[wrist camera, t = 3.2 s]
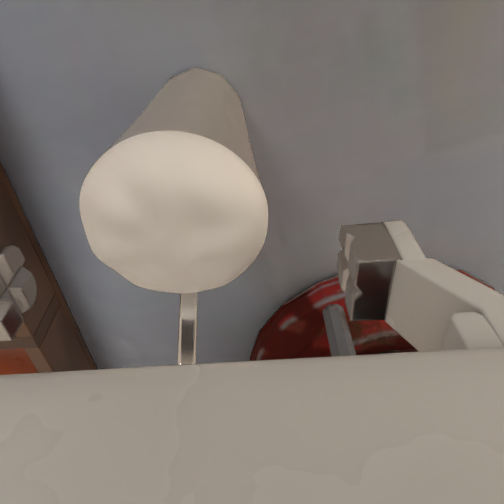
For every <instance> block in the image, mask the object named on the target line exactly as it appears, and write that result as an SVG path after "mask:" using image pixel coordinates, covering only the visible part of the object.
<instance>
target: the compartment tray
mask: <svg viewBox="0 0 504 504" xmlns="http://www.w3.org/2000/svg"><path fill="white" fill-rule="evenodd" d="M9 245H14V246H16V247H18V248H20V250H21V252H22V254H23V256H24V257H25V261H24V263H23V267H25V268H26V269H28V270H29V271H31V272H32V274H33V276H34V278H35V280H36V286H37V293H36V300H35V302H34V303H33V305H32V307H31V308H30V309H29V310H27V311H26V312H24V313H23V314H21V315H22V317H23V320H24V321H23V323H22V325H21V326H20V328H19V330H18V331H17V333H16V335H15V337H14V338H13V340H11V341H0V375H9V374H27V373H45V372H63V371H81V370H97V368H96V366H95V364H94V362H93V360H92V357H91V355H90V353H89V351H88V349H87V347H86V345H85V342H84V340H83V338H82V336H81V334H80V332H79V330H78V327H77V325H76V323H75V321H74V319H73V317H72V315H71V312H70V310H69V308H68V306H67V304H66V302H65V300H64V297H63V295H62V293H61V291H60V289H59V287H58V285H57V282H56V280H55V278H54V276H53V274H52V272H51V270H50V267H49V265H48V263H47V261H46V259H45V257H44V255H43V252H42V250H41V248H40V246H39V244H38V242H37V240H36V237H35V235H34V233H33V231H32V229H31V227H30V225H29V222H28V220H27V218H26V216H25V214H24V212H23V210H22V207H21V205H20V203H19V201H18V199H17V197H16V195H15V192H14V190H13V188H12V186H11V184H10V182H9V180H8V177H7V175H6V173H5V171H4V169H3V167H2V165H1V162H0V246H9Z"/></svg>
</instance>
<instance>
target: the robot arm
mask: <svg viewBox="0 0 504 504" xmlns="http://www.w3.org/2000/svg"><path fill="white" fill-rule="evenodd" d="M339 241H340V244H341V247H342V250H341V251H340V252H339V253H338V262H337V268H338V279H339V284H340V288H341V290H342V291H344V292H345V305H346V308H347V312H348V315H349V318H350V321H370V320H385V322H386V323H388V324H389V325H390V326H391V327H392V328H393V329H394V330H395V331H396V332H398V333H399V334H400V335H401V336H402V337H403V338H404V339H405V340H407V341H408V342H409V343H410V344H411V345H412V346H413V347H414V348H415V349H417V350H418V351H419V352H403V353H385V354H367V355H351V356H333V357H315V358H296V359H278V360H260V361H242V362H223V363H205V364H187V365H169V366H152V367H134V368H117V369H99V370H81V371H63V372H45V373H27V374H9V375H0V504H504V295H502V294H501V293H499V292H497V291H495V290H493V289H491V288H489V287H487V286H485V285H483V284H481V283H479V282H478V281H476V280H474V279H472V278H470V277H468V276H466V275H464V274H462V273H460V272H458V271H456V270H455V269H453V268H451V267H449V266H447V265H445V264H443V263H441V262H439V261H437V260H435V259H434V258H426V256H425V255H424V253H423V251H422V250H421V248H420V246H419V245H418V243H417V241H416V240H415V238H414V236H413V235H412V233H411V231H410V230H409V228H408V226H407V225H406V223H405V222H404V221H402V220H398V221H388V222H380V223H368V224H356V225H344V226H341V228H340V234H339ZM24 261H25V257H24V256H23V254H22V252H21V250H20V248H18V247H16V246H14V245H9V246H0V341H11V340H13V338H14V337H15V335H16V333H17V331H18V330H19V328H20V326H21V325H22V323H23V321H24V320H23V317H22V315H21V314H23V313H24V312H26V311H27V310H29V309H30V308H31V307H32V305H33V303H34V302H35V300H36V293H37V286H36V280H35V278H34V276H33V274H32V272H31V271H29V270H28V269H26V268H25V267H23V263H24Z"/></svg>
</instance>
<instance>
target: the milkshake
mask: <svg viewBox="0 0 504 504" xmlns="http://www.w3.org/2000/svg"><path fill="white" fill-rule="evenodd" d="M79 208H80V215H81V219H82V223H83V227H84V230H85V233H86V237H87V240H88V242H89V245H90V247H91V249H92V251H93V253H94V254H95V255H96V257H97V258H98V259H99V260H100V261H102V262H103V263H104V264H106V265H107V266H109V267H110V268H112V269H114V270H115V271H116V272H118V273H119V274H120V275H122V276H123V277H124V278H126V279H127V280H128V281H130V282H131V283H133V284H135V285H137V286H139V287H142V288H145V289H150V290H155V291H162V292H171V293H181V294H180V316H179V338H178V365H187V364H195V361H196V332H197V294H198V292H200V291H205V290H210V289H214V288H217V287H220V286H223V285H225V284H227V283H229V282H231V281H232V280H234V279H235V278H237V277H238V276H239V275H240V274H242V273H243V272H244V271H245V270H246V269H247V268H248V267H249V266H250V265H251V264H252V262H253V261H254V260H255V259H256V257H257V256H258V254H259V253H260V251H261V249H262V247H263V245H264V242H265V239H266V235H267V229H268V204H267V199H266V196H265V193H264V190H263V187H262V184H261V180H260V177H259V174H258V170H257V167H256V164H255V160H254V157H253V153H252V150H251V146H250V141H249V137H248V132H247V128H246V123H245V119H244V114H243V110H242V105H241V101H240V97H239V95H238V94H237V93H236V92H235V91H234V89H233V88H232V87H231V86H230V84H229V83H228V82H227V81H226V79H225V78H224V77H223V75H220V74H217V73H213V72H210V71H206V70H203V69H199V68H193V69H191V70H189V71H186V72H184V73H181V74H179V75H176V76H174V77H171V78H170V79H169V80H168V82H167V83H166V84H165V85H164V87H163V88H162V89H161V90H160V91H159V93H158V94H157V95H156V96H155V97H154V99H153V100H152V101H151V102H150V104H149V105H148V106H147V107H146V108H145V110H144V111H143V112H142V113H141V115H140V116H139V117H138V118H137V119H136V120H135V122H134V123H133V124H132V125H131V126H130V127H129V128H128V129H127V130H126V131H125V132H124V133H123V134H122V135H121V136H120V137H119V138H118V140H117V141H116V142H115V143H114V144H113V145H112V146H111V147H110V148H109V149H108V150H107V151H106V152H105V153H104V154H103V155H102V156H101V157H100V158H99V159H98V160H97V161H96V163H95V164H94V165H93V166H92V168H91V169H90V171H89V172H88V174H87V176H86V178H85V180H84V182H83V185H82V188H81V193H80V199H79Z"/></svg>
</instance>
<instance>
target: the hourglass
mask: <svg viewBox="0 0 504 504" xmlns="http://www.w3.org/2000/svg"><path fill="white" fill-rule="evenodd" d="M453 269H454V268H453ZM455 270H456V271H458V272H460V273H462V274H464V275H466V276H468V277H470V278H472V279H474V280H476V281H478V282H479V283H481V284H483V285H485V286H487V287H489V288H491V289H493V290H494V288H493V287H491V286H490V285H488V284H486V283H484V282H482V281H480V280H479V279H477V278H475V277H473V276H471V275H470V274H468V273H466V272H464V271H462V270H460V269H455ZM403 352H419V351H418V350H417V349H415V348H414V347H413V346H412V345H411V344H410V343H409V342H408V341H407V340H405V339H404V338H403V337H402V336H401V335H400V334H399V333H398V332H396V331H395V330H394V329H393V328H392V327H391V326H390V325H389V324H388V323H386V322H385V320H370V321H350V318H349V315H348V312H347V308H346V305H345V292H344V291H342V290H341V288H340V284H339V279H338V276H335V277H332V278H329V279H326V280H322V281H320V282H318V283H317V284H315V285H313V286H312V287H310V288H309V289H307V290H305V291H304V292H302V293H301V294H299V295H297V296H296V297H294V298H292V299H291V300H289V301H288V302H286V303H284V304H283V305H282V306H281V307H280V308H279V310H278V311H277V312H276V313H275V314H274V315H273V316H272V317H271V319H270V320H269V321H268V322H267V323H266V324H265V325H264V326H263V328H262V329H261V330H260V331H259V334H258V337H257V339H256V342H255V345H254V348H253V351H252V354H251V356H250V361H260V360H278V359H296V358H315V357H333V356H351V355H367V354H385V353H403Z"/></svg>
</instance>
